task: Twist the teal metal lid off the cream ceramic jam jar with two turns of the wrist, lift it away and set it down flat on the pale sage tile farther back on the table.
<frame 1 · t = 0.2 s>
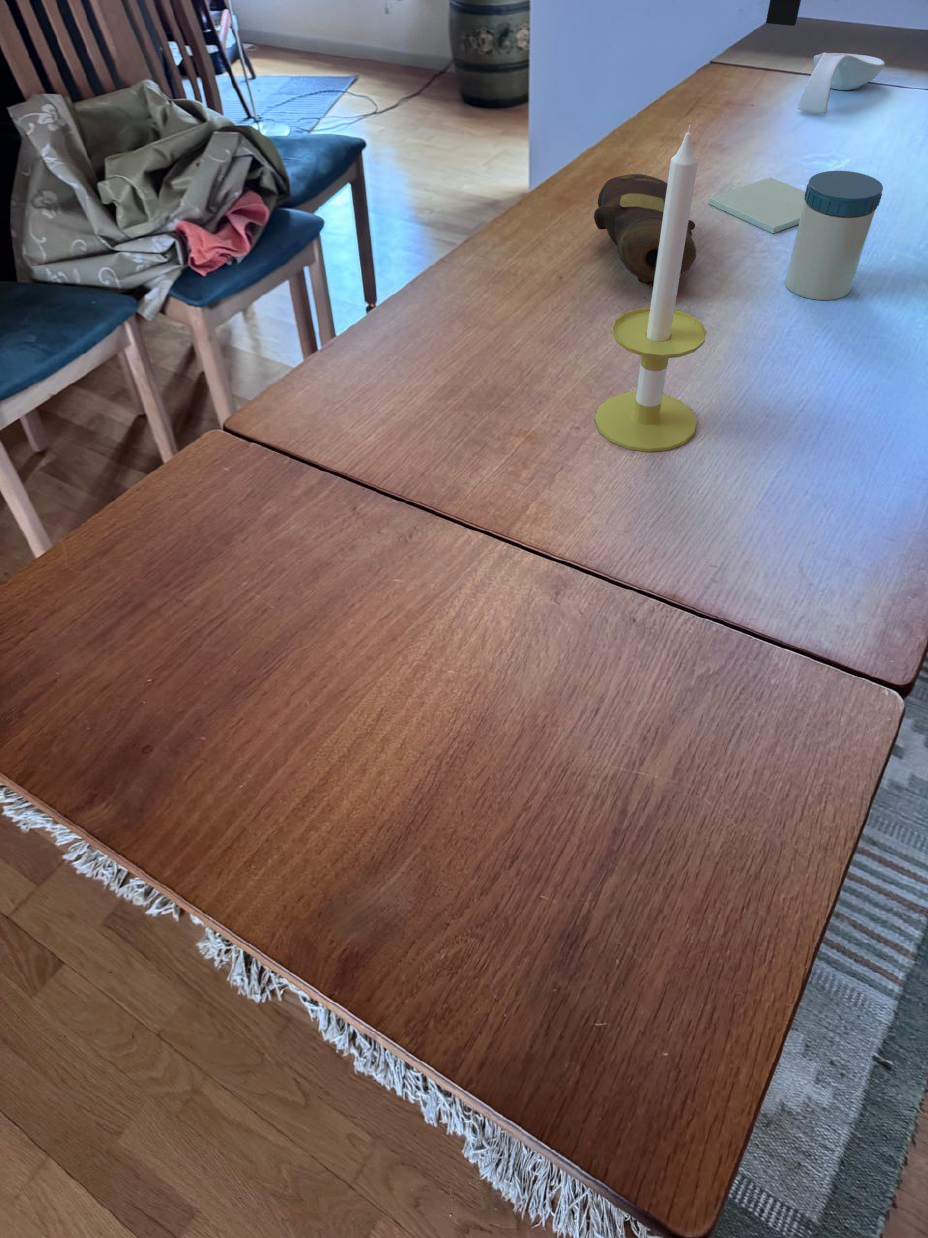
hand: (796, 6, 88), 27 cm above the table, tool pointing down, fingers open, 13 cm apart
pottery vessel: (639, 262, 111), on the table
lid: (844, 187, 97), point 11 cm above the table, screwed on, not yet turned
spoon rest: (832, 95, 151), on the table
candle: (645, 423, 87), on the table
jar: (817, 284, 105), on the table
tile: (771, 206, 120), on the table
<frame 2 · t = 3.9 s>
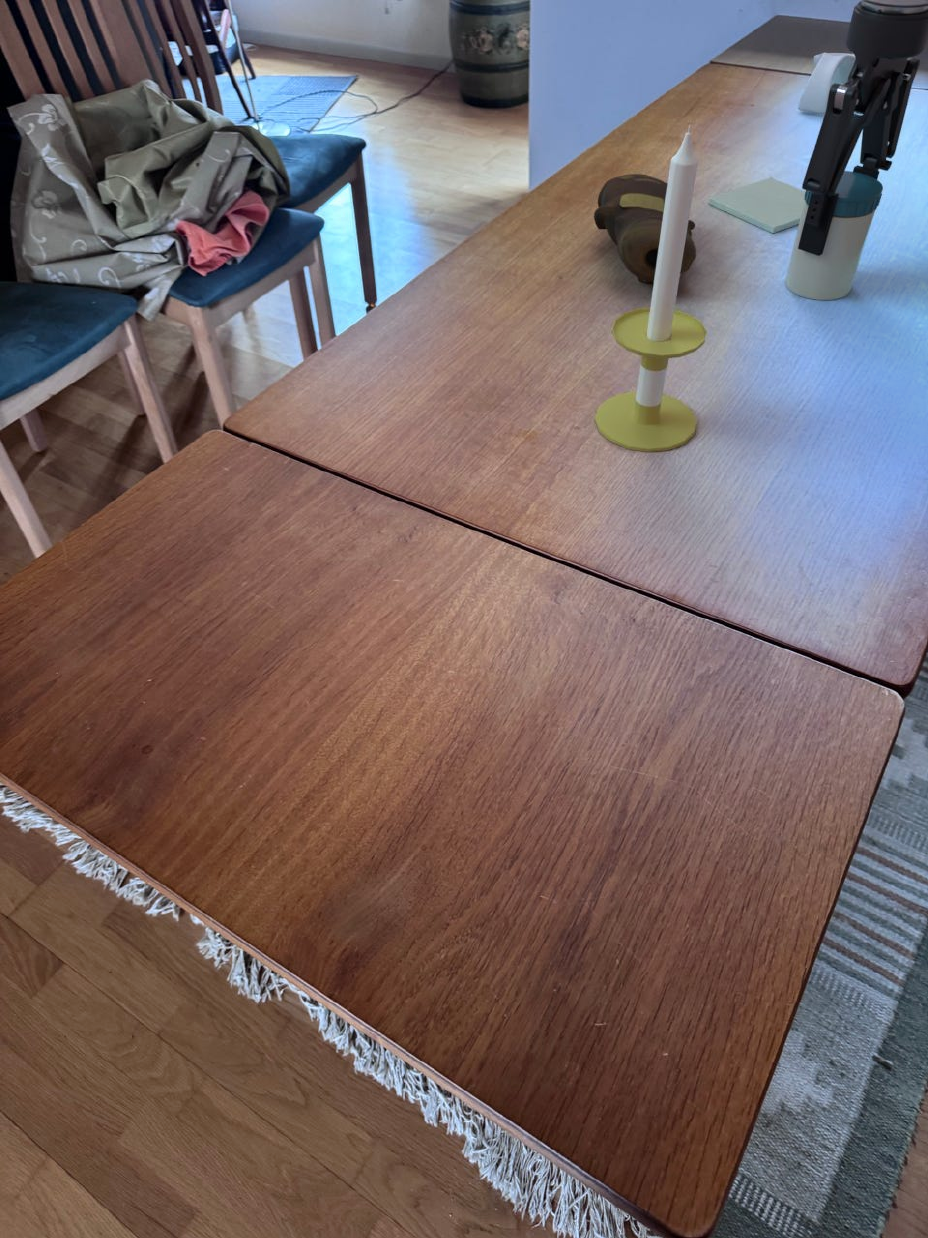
hand: (830, 238, 101), 6 cm above the table, tool pointing down, fingers closed on lid, 8 cm apart
lid: (844, 187, 97), point 11 cm above the table, screwed on, not yet turned, touching gripper
everything else where it was.
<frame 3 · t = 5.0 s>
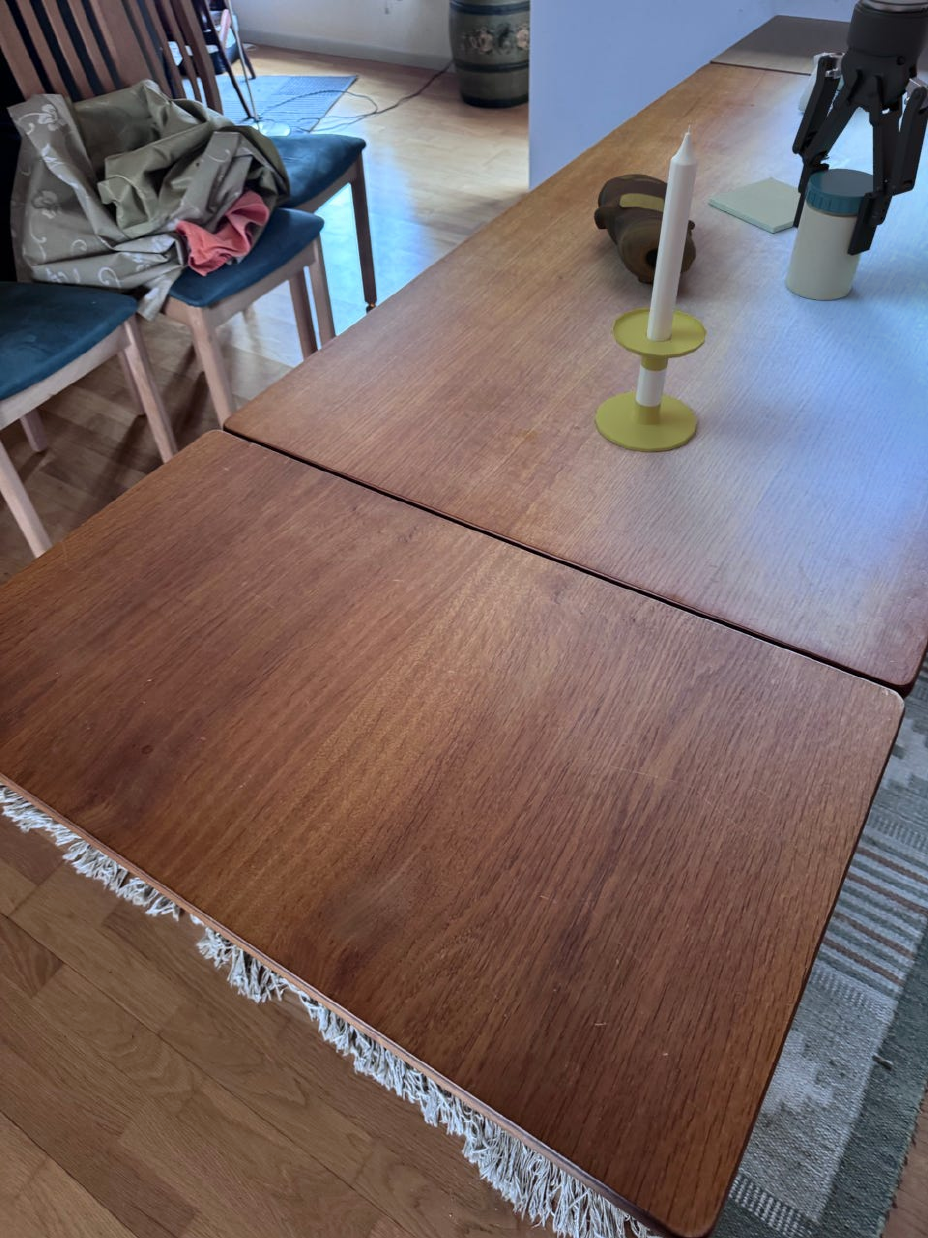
hand: (830, 237, 101), 6 cm above the table, tool pointing down, fingers closed on lid, 8 cm apart
lid: (845, 185, 97), point 11 cm above the table, turned 76° so far, risen 0.2 cm, still on its thread, touching gripper
everything else where it was.
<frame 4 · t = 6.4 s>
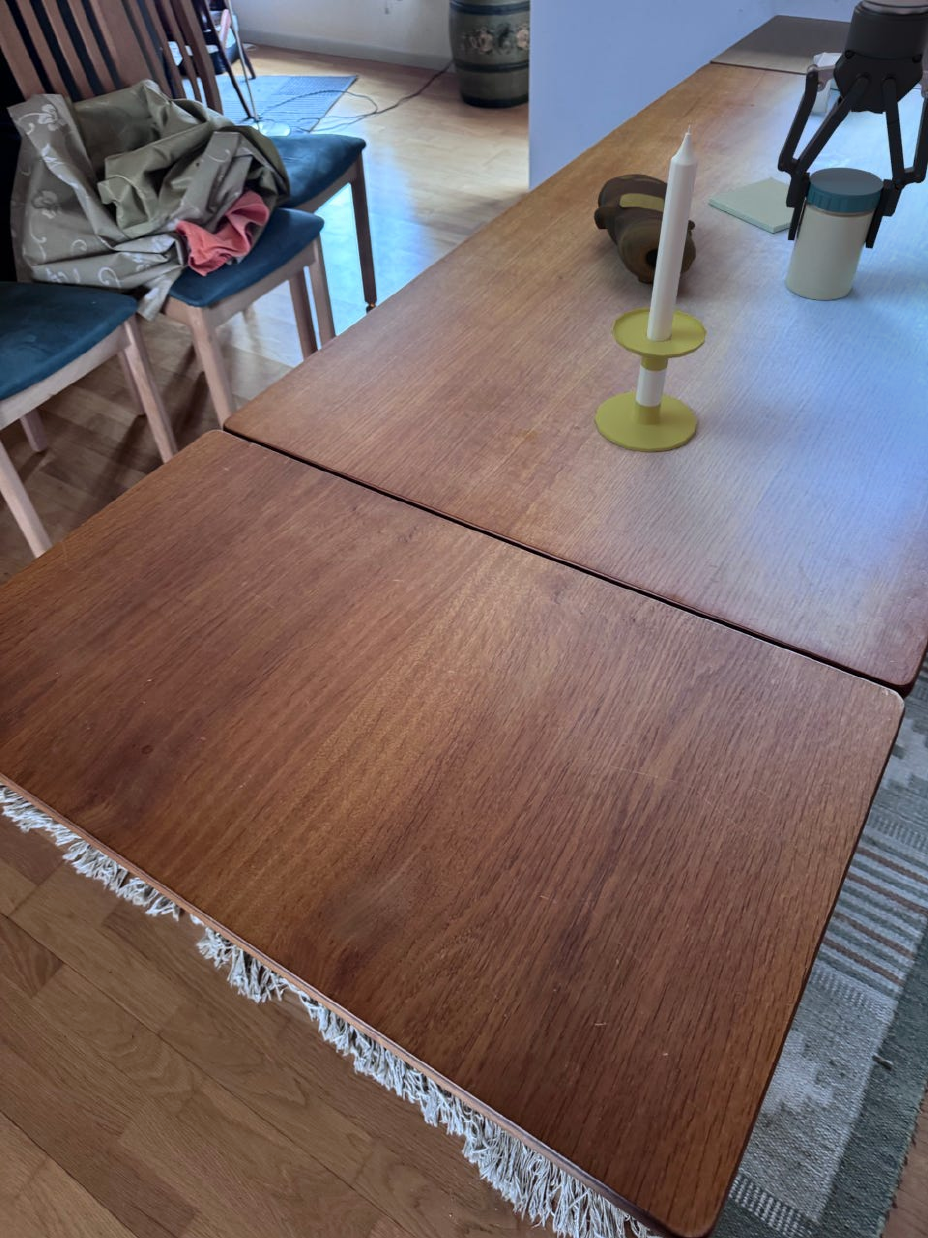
hand: (829, 238, 101), 6 cm above the table, tool pointing down, fingers closed on lid, 8 cm apart
lid: (845, 184, 97), point 12 cm above the table, turned 120° so far, risen 0.3 cm, still on its thread, touching gripper
everything else where it was.
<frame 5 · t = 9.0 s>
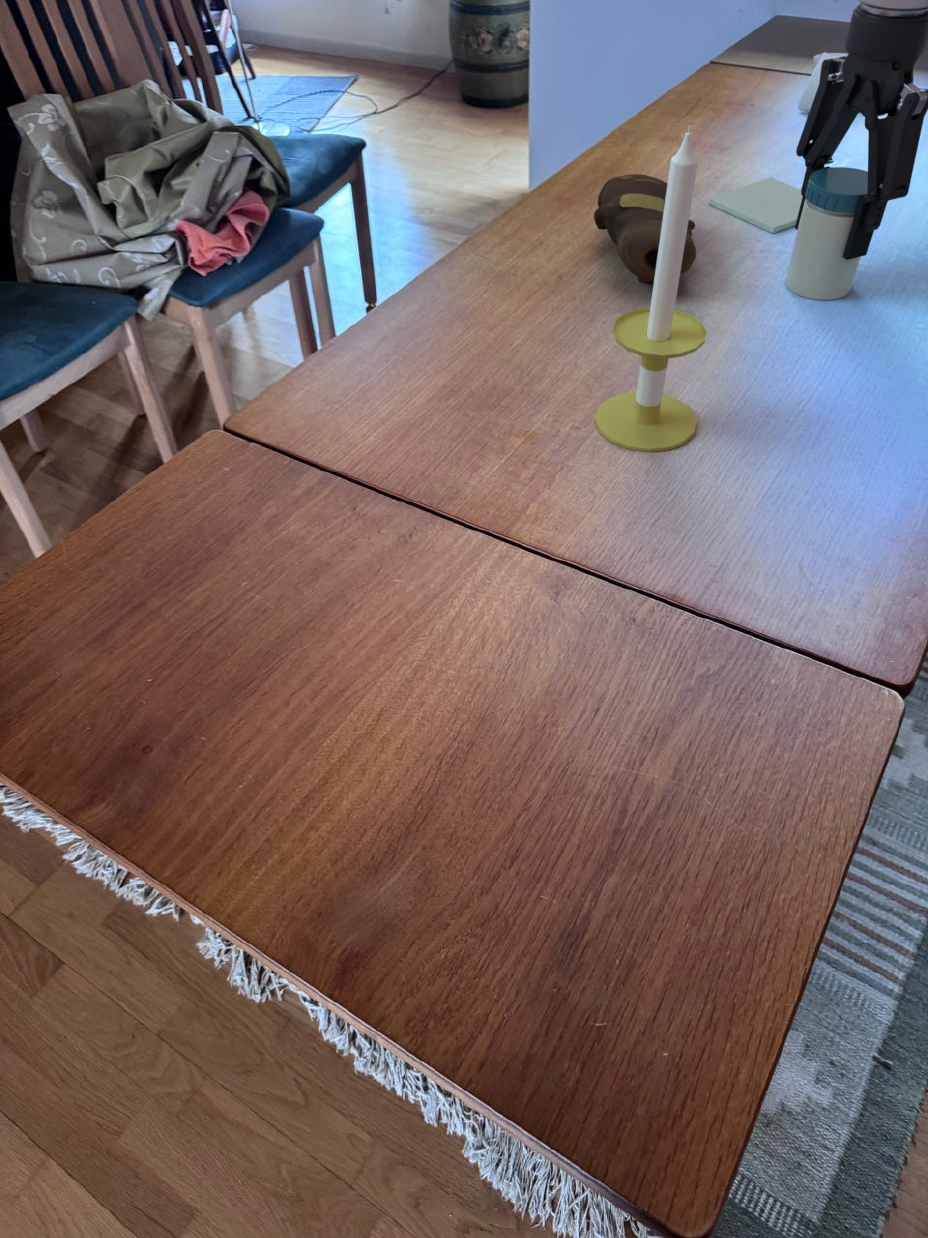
hand: (829, 241, 101), 5 cm above the table, tool pointing down, fingers closed on lid, 8 cm apart
lid: (845, 184, 97), point 12 cm above the table, off its thread, touching gripper
everything else where it was.
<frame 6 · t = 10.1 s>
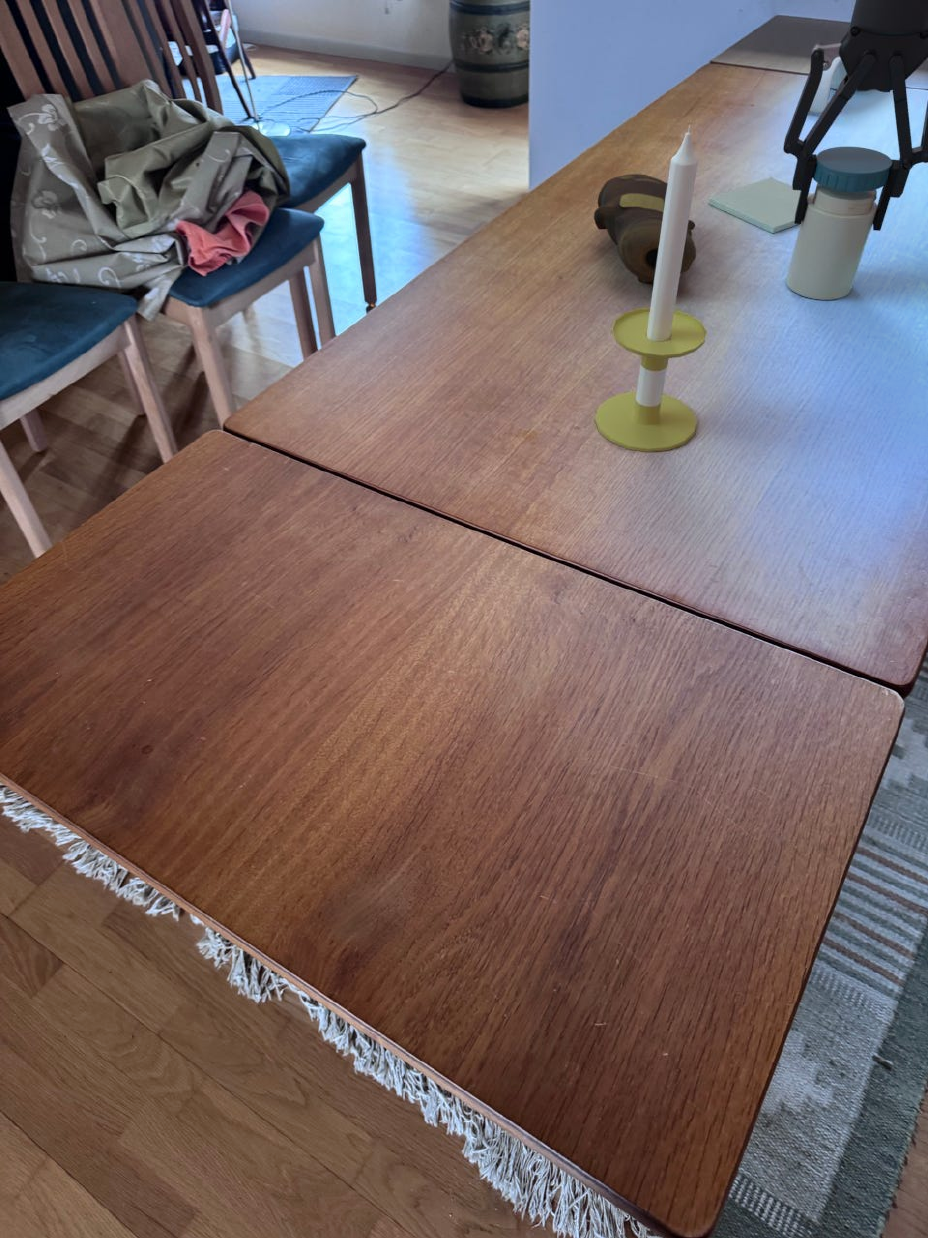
hand: (837, 221, 99), 7 cm above the table, tool pointing down, fingers closed on lid, 8 cm apart
lid: (852, 163, 95), point 14 cm above the table, off its thread, touching gripper
everything else where it was.
when the fingers open (2 cm above the table, at t = 16.7 s): lid drops 6 cm, resting on tile.
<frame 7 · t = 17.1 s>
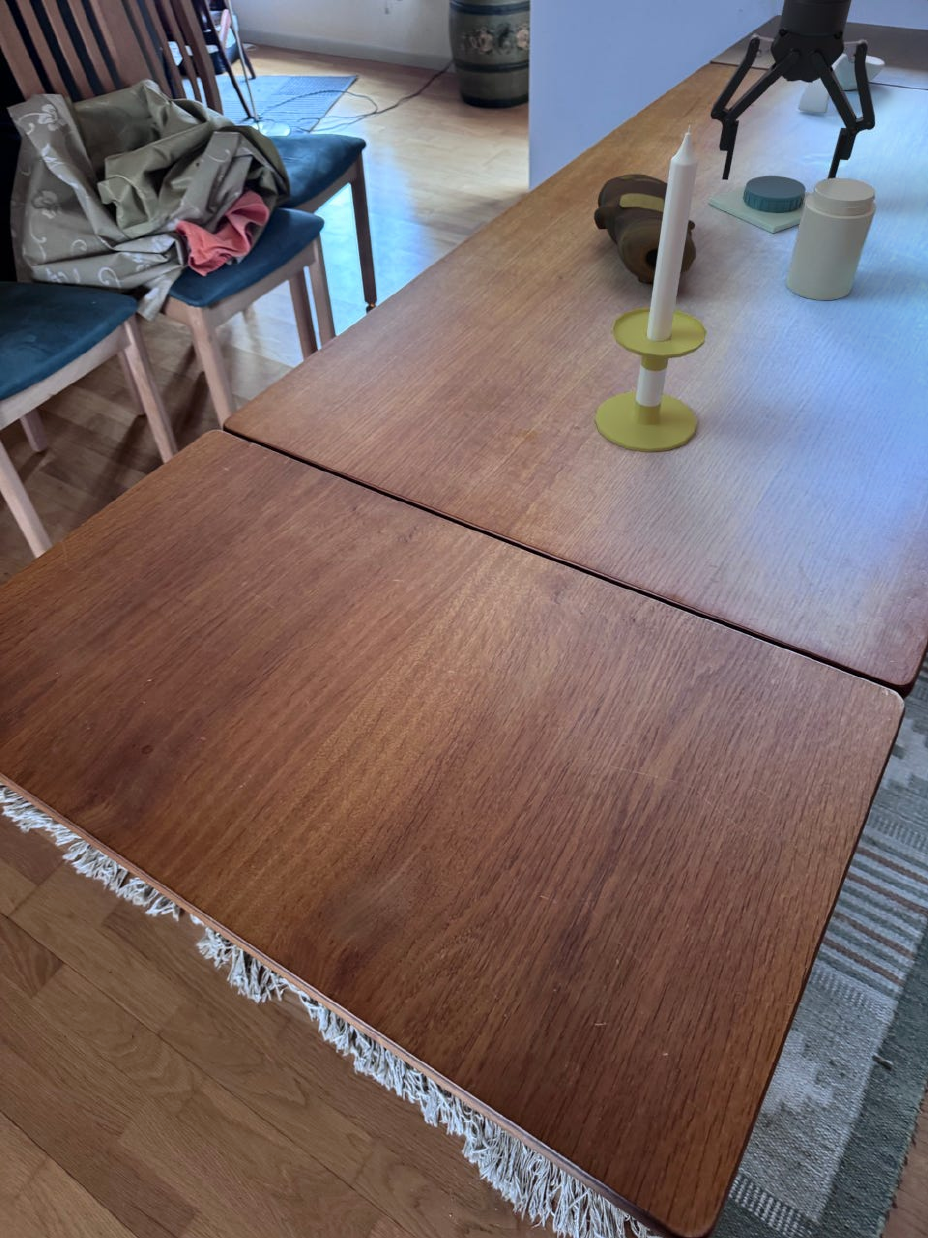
hand: (777, 180, 118), 3 cm above the table, tool pointing down, fingers open, 13 cm apart
lid: (775, 189, 119), point 2 cm above the table, off its thread, touching tile
everything else where it was.
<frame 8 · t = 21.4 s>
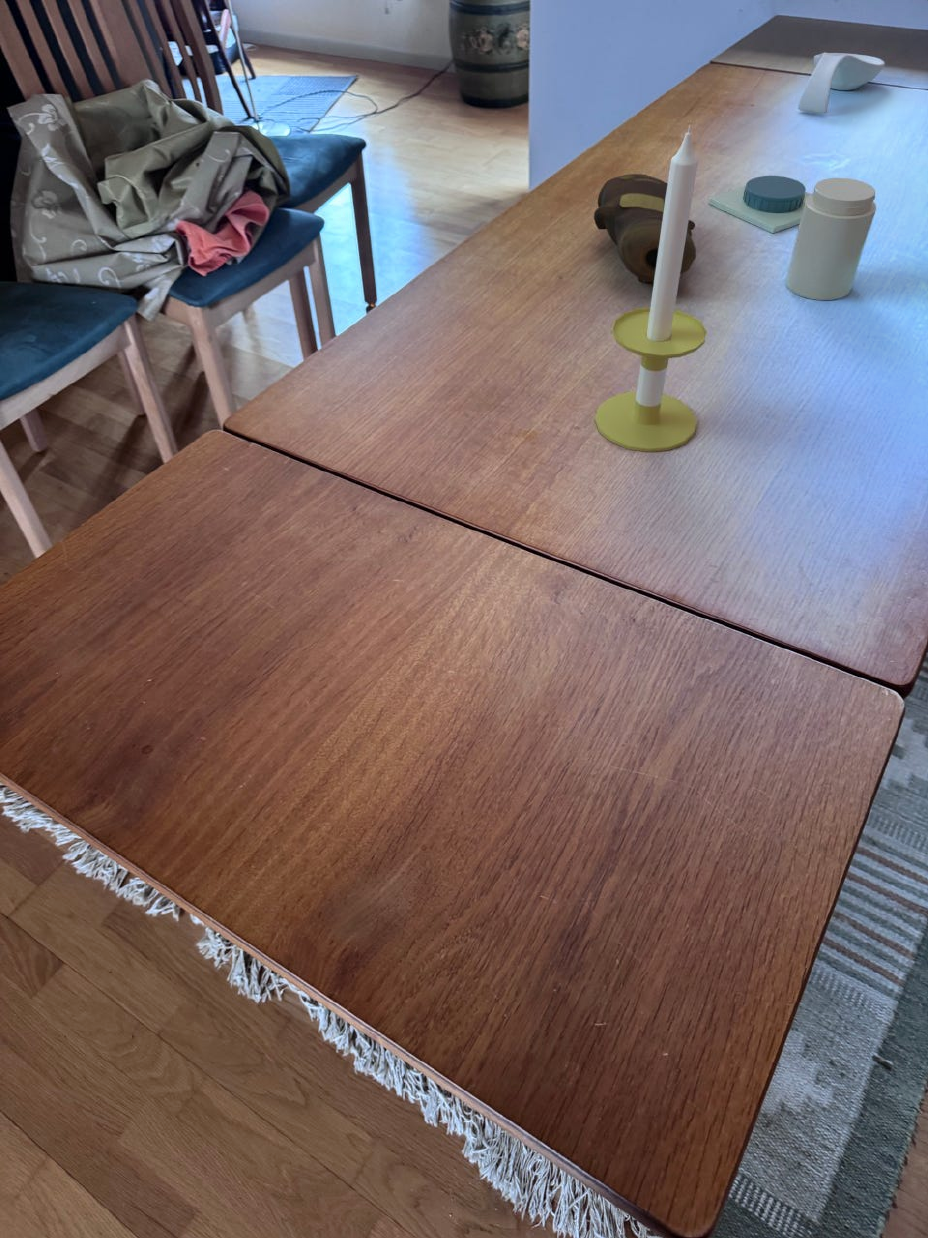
nothing on the table moved.
at the end: lid inside the target area on the tile (0.0 cm from its centre), point 2.3 cm above the tile's base; lid tilted 0°; the gripper is holding nothing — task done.
